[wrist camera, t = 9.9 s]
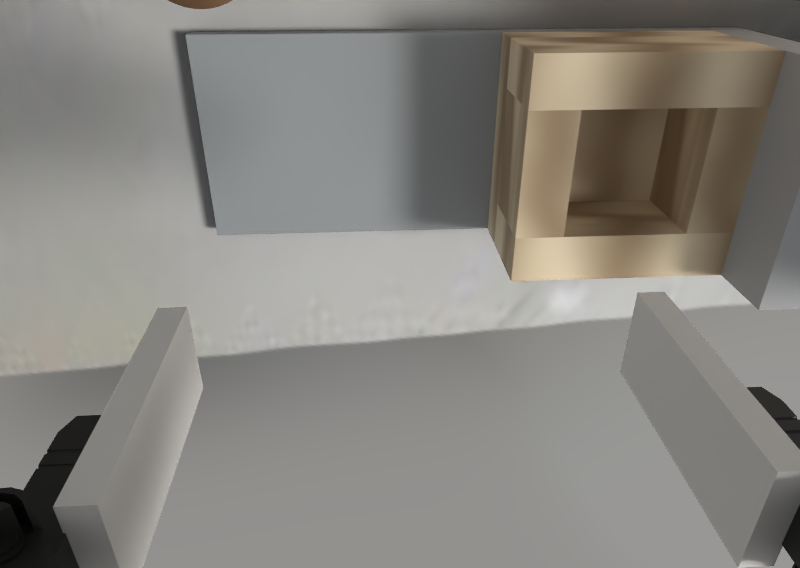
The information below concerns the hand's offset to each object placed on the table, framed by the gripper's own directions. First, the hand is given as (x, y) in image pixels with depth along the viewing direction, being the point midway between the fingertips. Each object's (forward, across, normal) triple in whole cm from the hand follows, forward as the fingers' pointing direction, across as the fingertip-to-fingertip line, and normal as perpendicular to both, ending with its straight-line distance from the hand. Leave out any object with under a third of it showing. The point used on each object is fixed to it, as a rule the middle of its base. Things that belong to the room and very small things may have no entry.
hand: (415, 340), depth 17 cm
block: (+19, +12, 0) cm, 23 cm away
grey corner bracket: (+20, +4, 0) cm, 21 cm away
